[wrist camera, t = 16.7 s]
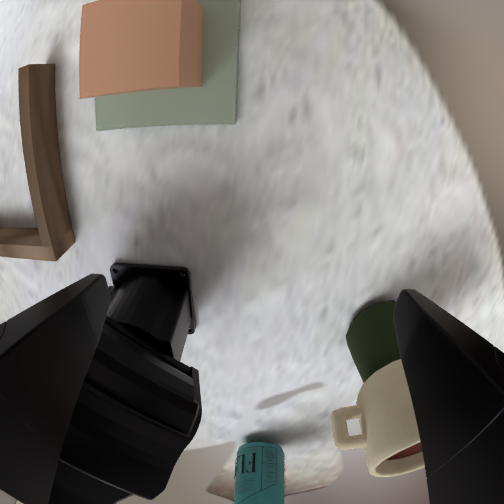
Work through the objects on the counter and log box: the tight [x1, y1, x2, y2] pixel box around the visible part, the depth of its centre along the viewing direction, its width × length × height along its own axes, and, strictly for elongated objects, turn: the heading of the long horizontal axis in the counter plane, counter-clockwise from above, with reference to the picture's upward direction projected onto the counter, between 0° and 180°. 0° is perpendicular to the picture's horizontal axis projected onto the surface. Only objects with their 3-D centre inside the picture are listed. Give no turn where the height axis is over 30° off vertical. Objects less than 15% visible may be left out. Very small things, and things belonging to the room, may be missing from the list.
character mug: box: [331, 301, 425, 477], centre depth 19 cm, size 11×7×13 cm, turn 97°
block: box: [79, 0, 204, 99], centre depth 12 cm, size 5×5×5 cm
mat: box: [95, 0, 240, 131], centre depth 15 cm, size 9×9×1 cm
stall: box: [0, 64, 75, 261], centre depth 17 cm, size 11×14×3 cm
